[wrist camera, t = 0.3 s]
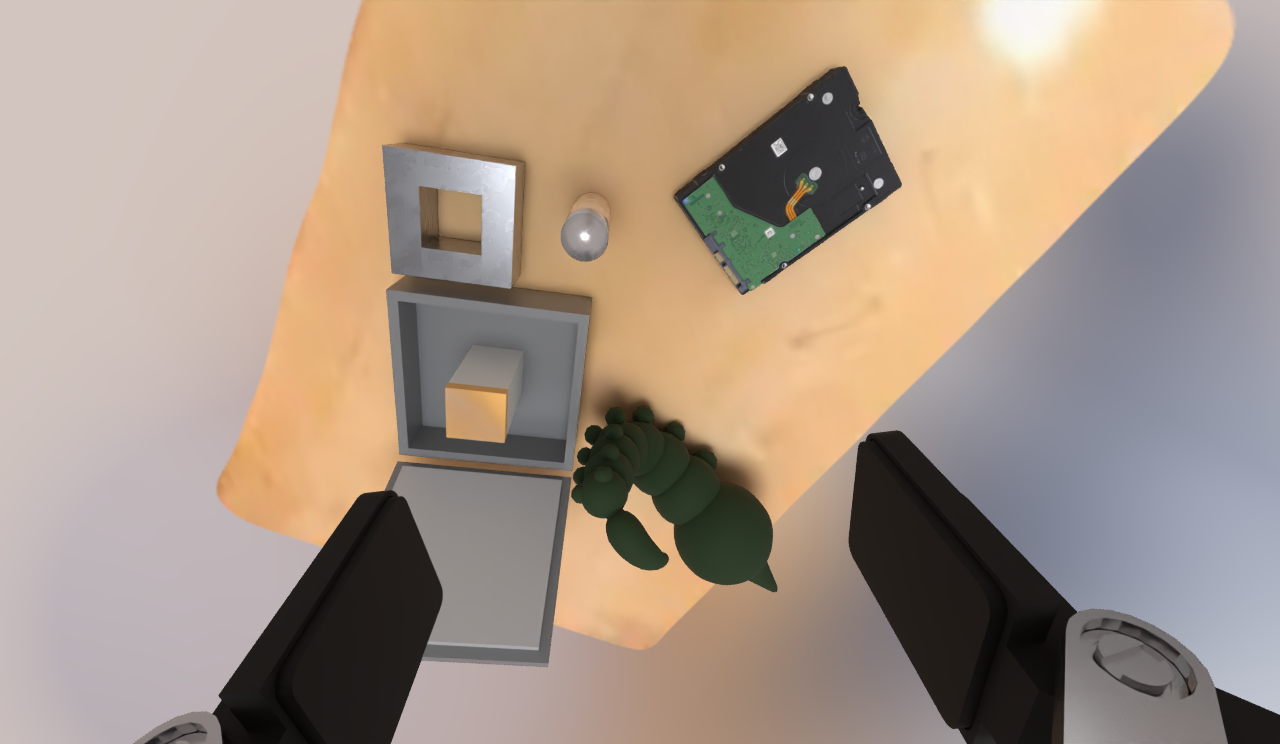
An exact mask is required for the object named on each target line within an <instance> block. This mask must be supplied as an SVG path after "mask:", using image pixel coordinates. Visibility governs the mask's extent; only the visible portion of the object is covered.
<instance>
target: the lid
mask: <svg viewBox="0 0 1280 744" xmlns="http://www.w3.org/2000/svg"><path fill="white" fill-rule="evenodd" d="M570 484H571V477H561V476H550V475H539V474H528V473H517V472H507V471H496V470H485V469H474V468H463V467H452V466H441V465H431V464H420V463H409V462H397V464H396V466H395V469H394V471H393V473H392V475H391V478H390V480H389V482H388V484H387V487H386V489H385V491H387V490H392V491H395V492H396V493H397V495H398V496H403V497H404V498H405V499H406V501H407V503H408V505H409V507H410V510H411V512H412V515H413V517H414V520H415V522H416V525H417V527H418V529H419V532H420V534H421V537H422V539H423V542H424V544H425V546H426V549H427V551H428V554H429V556H430V559H431V561H432V564H433V566H434V568H435V571H436V573H437V576H438V578H439V581H440V583H441V586H442V589H443V600H442V605H441V608H440V611H439V614H438V616H437V619H436V622H435V624H434V627H433V630H432V633H431V635H430V638H429V641H428V643H427V646H426V649H425V652H424V654H423V657H422V660H421V661H439V662H459V663H478V664H498V665H518V666H536V667H537V666H538V667H548V662H549V655H550V646H551V638H552V630H553V622H554V614H555V606H556V598H557V590H558V582H559V573H560V565H561V557H562V549H563V541H564V533H565V525H566V517H567V509H568V500H569V492H570Z"/></svg>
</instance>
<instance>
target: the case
mask: <svg viewBox="0 0 1280 744" xmlns="http://www.w3.org/2000/svg"><path fill="white" fill-rule="evenodd" d="M386 293H387V305H388V318H389V330H390V342H391V355H392V367H393V379H394V392H395V404H396V416H397V428H398V441H399V453H400V455H410V456H421V457H431V458H442V459H453V460H463V461H474V462H485V463H495V464H506V465H517V466H527V467H538V468H549V469H559V470H570V471H572V467H573V459H574V452H575V444H576V435H577V426H578V417H579V408H580V399H581V391H582V382H583V373H584V364H585V355H586V346H587V337H588V328H589V320H590V311H591V302H592V298H591V297H583V296H575V295H568V294H560V293H553V292H545V291H537V290H530V289H522V288H515V287H512V288H511V289H509V288H501V287H494V286H486V285H479V284H471V283H463V282H456V281H448V280H440V279H433V278H425V277H417V276H410V275H406V276H404V277H403V278H402V279H400V280H399V281H397V282H396V283H395V284H393V285H392V286H391V287H389V288H388V289H386ZM472 345H479V346H488V347H496V348H505V349H513V350H521V351H524V357H523V376H522V394H521V397H520V400H519V403H518V406H517V408H516V411H515V414H514V417H513V420H512V423H511V426H510V428H509V431H508V434H507V437H506V440H505V443H499V442H489V441H479V440H469V439H458V438H448V437H446V404H445V387H446V385H447V384H448V383H449V381H450V379H451V378H452V376H453V375H454V373H455V372H456V370H457V369H458V367H459V366H460V364H461V362H462V361H463V359H464V358H465V356H466V355H467V353H468V352H469V350H470V348H471V347H472Z"/></svg>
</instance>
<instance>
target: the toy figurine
mask: <svg viewBox="0 0 1280 744" xmlns="http://www.w3.org/2000/svg"><path fill="white" fill-rule="evenodd" d="M625 418H626V415H625V413H624V410H622V409H620V408H619V407H614V408H610V409H609V411H608V412H607V414H606V415H605V419H606V421H607V424H608V426H606V427H605V428H604V429H602V428H600V427H599V426H597V425H591V426H590V427H588V428H587V429H586V432H585V434H584V435H585V439H586V441H587V442H588V443H589V444H591V445H593V446H592V448H591V449H589V448H587V447H585V448H582V449H581V450H580V451H579V452H578V455H577V459H578V461H579V462H580V463H581V464H582V465H586V466H585V467H580V468H577V470H576V471H575V472H574V474H573V480H574V481H575V483H576V484H577V485H576V486H575V487H574V489H573V490H572V494H571V497H572V498H573V500H574V501H575V502H576V503H580V504H581V503H582V504H583V506H584V508H585V509H586V511H587V512H588V513H590V514H591V515H592V516H595V517H597V518H607V523H606V533H607V536H608V540H609V542H610V544H611V545H612V547H613V548H614V549H615V550H616V552H617V553H618V554H619V555H620V556H621V557H622V558H623V559H625V560H626V561H627V562H629V563H630V564H632V565H634V566H636V567H638V568H640V569H643V570H658V569H660V568H663V567H664V566H665V565H666V564H667V563H668V560H669V557H668V555H667V554H666V553H663V552H662V551H661V550H660V549H659V547H658V546H657V545H656V544H655V543H654V542H653V540H652V539H651V538H650V536H649V535H648V533H647V532H646V530H645V528H644V527H643V525H642V524H641V523H640V521H639V520H638V519H637V518H636V517H635V516H634V515H633V514H631V513H630V512H628V511H624V510H623V507H624V505H625V503H626V501H627V498H628V493H629V492H630V489H631V487H632V485H633V483H634V484H635V485H636V486H637V487H638V488H639V489H640V490H641V491H642V492H644V493H646V494H648V495H651V496H652V500H653V503H654V505H655V507H656V509H657V511H658V512H659V513H660V515H661V516H662V517H663V518H664V519H666V520H667V521H668V522H670V523H673V524H674V539H675V544H676V547H677V550H678V552H679V554H680V556H681V558H682V560H683V561H684V563H685V564H686V565H687V566H688V567H689V569H690V570H691V571H692V572H694V573H695V574H696V575H697V576H699V577H700V578H702V579H704V580H706V581H709V582H712V583H715V584H721V585H733V584H739V583H743V582H745V581H748V580H749V581H751V582H753V583H755V584H757V585H759V586H761V587H763V588H765V589H767V590H769V591H772V592H777V585H776V582H775V580H774V577H773V575H772V573H771V570H770V568H769V565H768V563H767V560H768V558H769V555H770V552H771V549H772V541H773V529H772V523H771V520H770V517H769V515H768V513H767V511H766V509H765V508H764V506H763V505H762V504H761V503H760V502H759V500H758V499H757V498H756V497H755V496H754V495H752V494H751V493H750V492H749V491H747V490H745V489H744V488H742V487H740V486H737V485H734V484H730V483H723V482H720V480H719V478H718V476H717V473H716V472H715V470H714V469H715V468H716V466H717V459H716V457H715V455H714V453H712V452H710V451H708V450H706V449H703V450H699V451H698V452H696V453H695V454H694V455H693V456H692V455H689V452H688V450H687V448H686V447H685V445H684V444H683V442H682V441H683V439H684V437H685V430H684V428H683V427H682V426H681V425H680V424H677V423H671V424H669V425H668V426H667V428H666V429H665V432H662V431H659V430H658V429H657V428H656V427H654V426H653V425H652V424H651V423H652V422H653V421H654V414H653V412H652V410H651V409H650V408H649V407H646V406H640V407H638V408H637V409H635V410H634V411H633V415H632V419H633V421H634V422H631V423H629V422H624V421H625Z"/></svg>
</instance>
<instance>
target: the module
mask: <svg viewBox="0 0 1280 744" xmlns="http://www.w3.org/2000/svg"><path fill="white" fill-rule="evenodd" d="M523 357H524V351H521V350H513V349H505V348H496V347H488V346H479V345H472V347H471V348H470V350H469V352H468V353H467V355H466V356H465V358H464V359H463V361H462V362H461V364H460V366H459V367H458V369H457V370H456V372H455V373H454V375H453V376H452V378H451V379H450V381H449V383H448V384H447V385H446V387H445V404H446V437H448V438H458V439H469V440H479V441H489V442H499V443H505V440H506V437H507V434H508V431H509V428H510V426H511V423H512V420H513V417H514V414H515V411H516V408H517V406H518V403H519V400H520V397H521V394H522V376H523Z"/></svg>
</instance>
